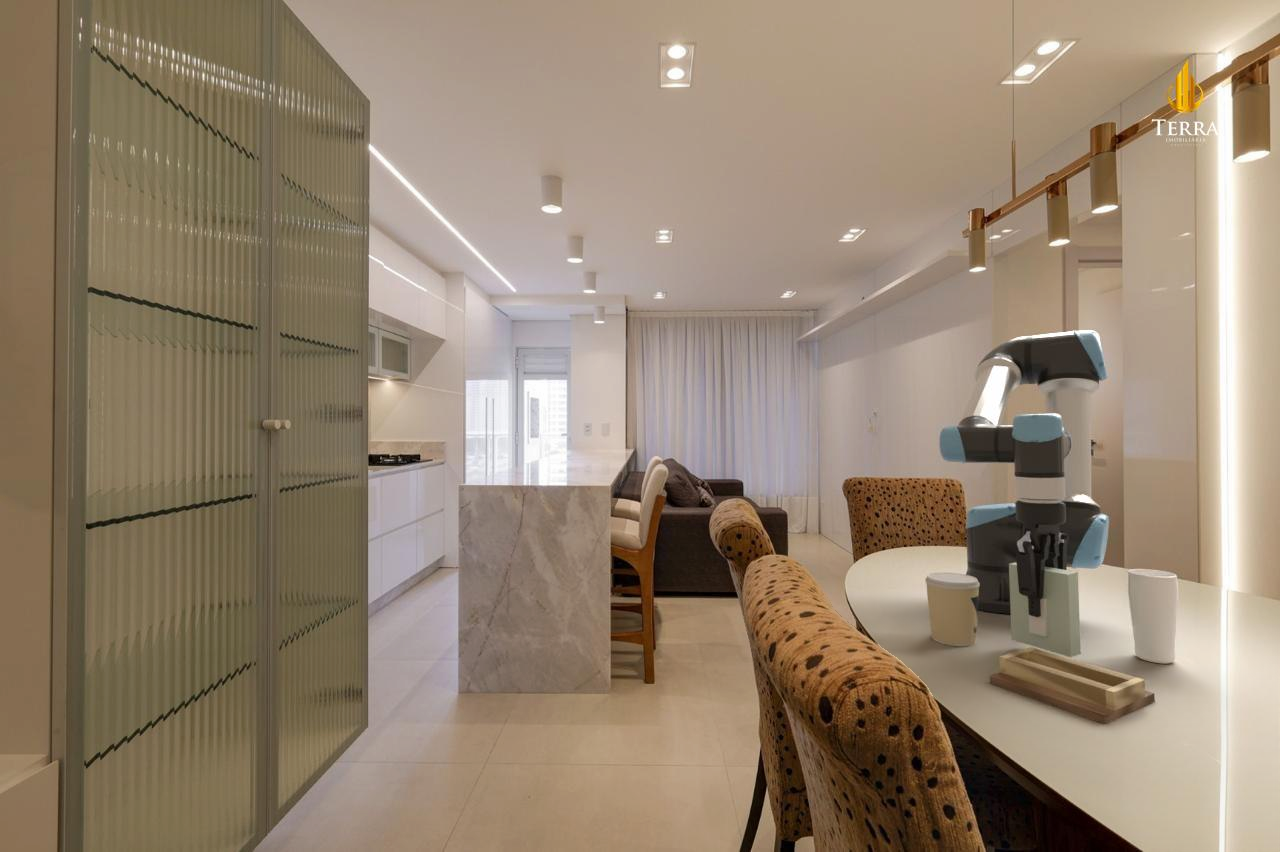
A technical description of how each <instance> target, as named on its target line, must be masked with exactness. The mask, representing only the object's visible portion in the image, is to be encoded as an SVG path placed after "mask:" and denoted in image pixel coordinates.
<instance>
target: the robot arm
mask: <svg viewBox="0 0 1280 852" xmlns="http://www.w3.org/2000/svg"><path fill="white" fill-rule="evenodd" d="M974 376H975V377H974V379H975V381H976V382H975V384H974V386H973V389H972V392H971V394H970V397H969V399H968V401H967V404H966V406H965V409H964V411H963V413H962V416H961V419H960V421H959V423H958V425H956V424H954V425H952V426H949V425H948V426H944V427H943V428H942V429H941V431H940V434H939V439H938V440H939V443H938V444H939V451H940V455H941V457H942V459H943V460H944V461H946V462H949V463H950V462H951V463H962V464H966V463H971V464H972V463H977V464H978V463H979V464H980V463H981V464H982V463H987V464H988V463H997V464H998V463H999V464H1000V463H1003V464H1013V466H1014V480H1013V484H1014V489H1015V492H1014V493H1015V494H1014V497H1016V498H1017V499H1018V500H1016V502H1015V503H1012V502H1011V503H997V504H995V503H994V504H986V505H979V506H974V507H973V506H972V507H971V508H969V509H968V510H967V512H966V519H965V520H966V521H965V529H966V530H965V533H966V558H967V559H966V563H967V565H966V567H967V570H966V572H965V575H969V576H972V577H975V578H976V579H977V580H978V582H979V584H980V586H979V595H978V611H979V610H980V611H984V612H988V613H996V614H1009V615H1011V609H1010V580H1009V564H1011V563H1015V562H1016V563H1017V574H1018V586H1019V593H1020V594H1021V595H1024V596H1027V597H1028V610H1029V632H1030V633H1034V634H1037V635H1041V636H1045V637H1046V636H1048V630H1047V602H1046V598H1043V589H1044V570H1045V567H1051V568H1057V569H1062V570H1067V568H1072V569H1087V570H1088V569H1089V570H1093V569H1098V568H1099V567H1101V566H1102V565H1103V562H1104V559H1105V555H1106V550H1107V547H1108V546H1107V545H1108V544H1107V543H1108V540H1109V539H1108V538H1109V526H1110V518H1109V516H1108V515H1107V514H1104V513H1101V506H1100V504H1098V503H1097V502H1095V500H1093V498H1092V410H1091V409H1092V407H1091V406H1092V403H1091V400H1092V399H1091V398H1092V396H1091V395H1093V393H1095V392H1096V391H1098V390H1099V388H1100V381H1105V380H1107V378H1108V374H1107V368H1106V362H1105V357H1104V353H1103V346H1102V342H1101V338H1100V334H1099V333H1098V332H1097V331H1095V330H1092V329H1086V330H1072V331H1065V332H1064V331H1063V332H1053V333H1045V334H1035V335H1025V336H1019V337H1015V338H1012V339H1010V340H1006V341H1005V342H1003V343H1002V344H999V345H997V346H996V347H995V348H993V349H992V350H991V351H989V352H988V353H987V354H985V356H984V357H983V358H982V360H981V361H979V364H978V365H977V368H976V371H975V374H974ZM1021 385H1037V391H1038V392H1039V393H1041V394H1042V395H1043V396H1044V398H1045V399H1044V413H1031V414H1028V413H1027V414H1017V415H1015V417H1013V420H1012V424H1002V422H1003V418H1004V415H1005V414H1006V413H1005V412H1006V410H1007V407H1008V405H1009V404H1008V403H1009V401H1010V398H1011V394H1012V392H1013V391H1014V390H1015V389H1017V388H1018V387H1019V386H1021Z"/></svg>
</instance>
